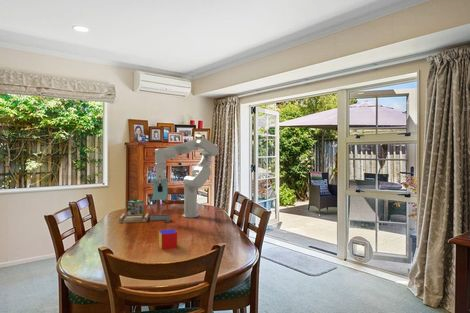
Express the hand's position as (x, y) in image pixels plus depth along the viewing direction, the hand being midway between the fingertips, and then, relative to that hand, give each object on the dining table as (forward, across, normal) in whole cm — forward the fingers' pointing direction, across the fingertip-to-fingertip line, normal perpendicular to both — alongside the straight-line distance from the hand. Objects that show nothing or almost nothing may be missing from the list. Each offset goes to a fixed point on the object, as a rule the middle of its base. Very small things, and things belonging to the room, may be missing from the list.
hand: (160, 191), depth 224 cm
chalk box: (+22, -22, -20) cm, 37 cm away
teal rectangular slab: (+6, 0, 0) cm, 6 cm away
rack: (+21, -2, -18) cm, 28 cm away
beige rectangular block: (+20, +3, -18) cm, 27 cm away
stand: (+21, 0, 0) cm, 21 cm away
